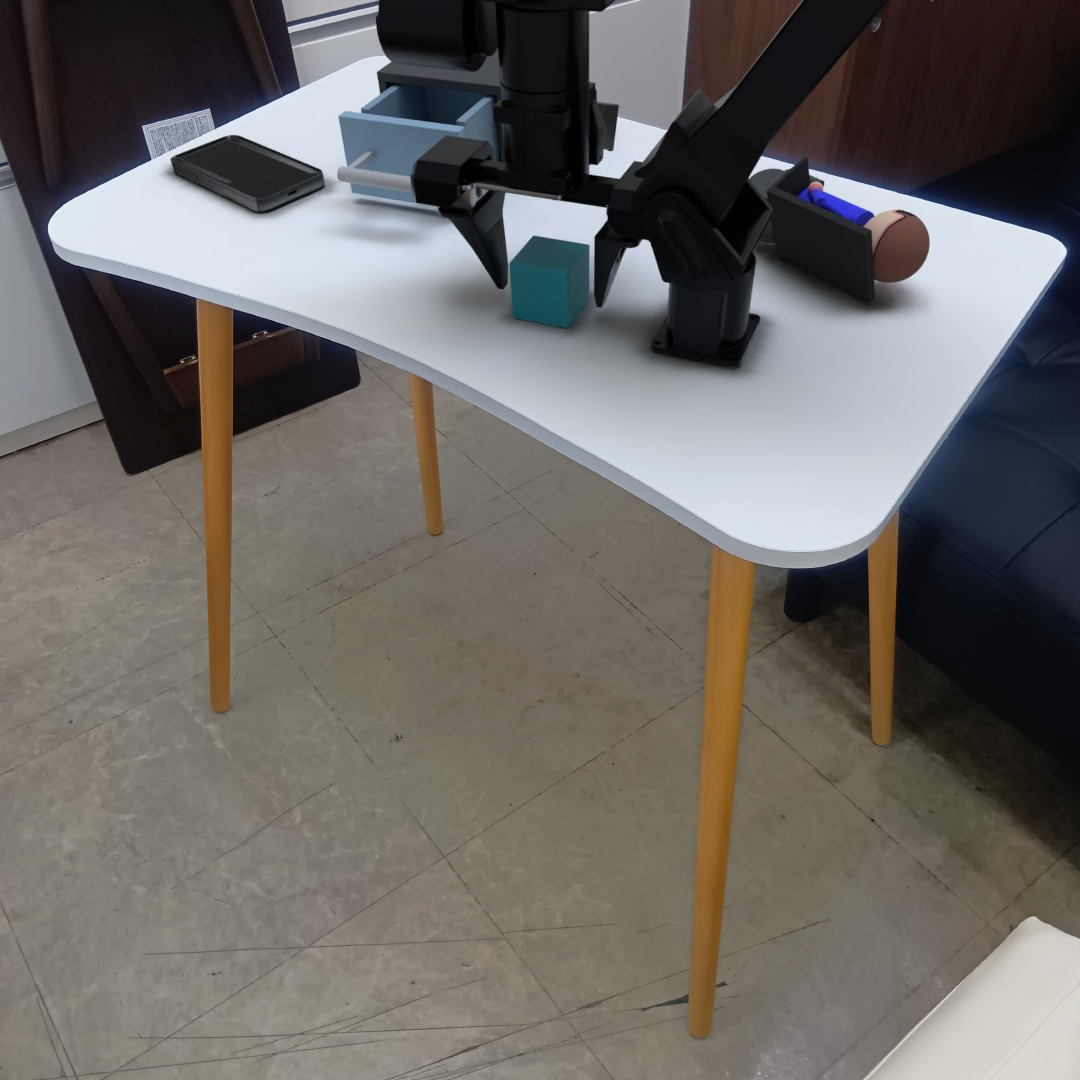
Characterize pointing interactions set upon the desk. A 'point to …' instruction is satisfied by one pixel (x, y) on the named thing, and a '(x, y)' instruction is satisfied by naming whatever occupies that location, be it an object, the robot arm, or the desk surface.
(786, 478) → the desk surface
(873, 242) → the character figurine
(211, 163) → the phone
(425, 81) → the drawer cabinet
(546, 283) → the teal cube
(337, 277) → the desk surface
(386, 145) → the light blue drawer
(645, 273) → the desk surface
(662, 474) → the desk surface
